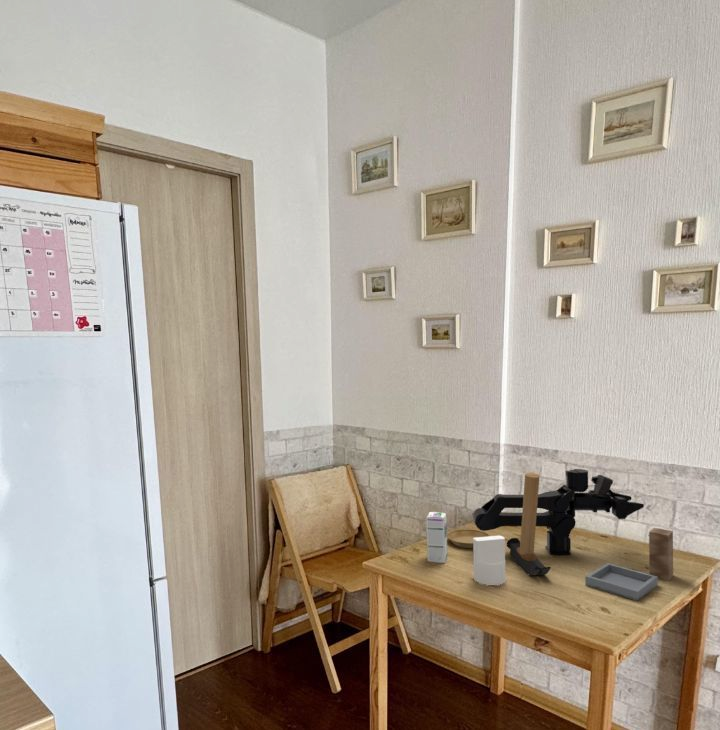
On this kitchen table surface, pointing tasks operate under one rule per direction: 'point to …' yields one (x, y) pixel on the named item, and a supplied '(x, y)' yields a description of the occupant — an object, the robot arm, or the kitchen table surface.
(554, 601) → the kitchen table surface
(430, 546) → the syrup box
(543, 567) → the hammer
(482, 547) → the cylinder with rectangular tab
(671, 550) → the walnut block
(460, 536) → the plant saucer
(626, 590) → the tray
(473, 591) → the kitchen table surface
